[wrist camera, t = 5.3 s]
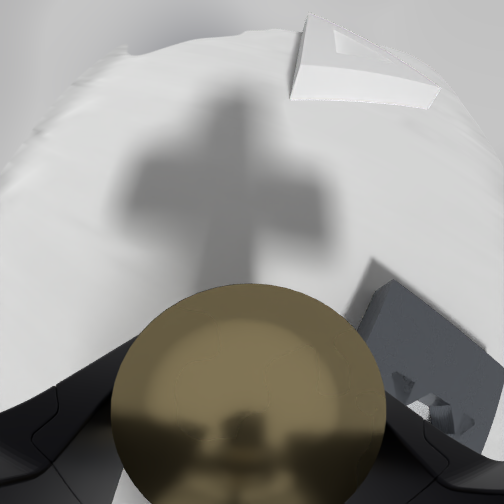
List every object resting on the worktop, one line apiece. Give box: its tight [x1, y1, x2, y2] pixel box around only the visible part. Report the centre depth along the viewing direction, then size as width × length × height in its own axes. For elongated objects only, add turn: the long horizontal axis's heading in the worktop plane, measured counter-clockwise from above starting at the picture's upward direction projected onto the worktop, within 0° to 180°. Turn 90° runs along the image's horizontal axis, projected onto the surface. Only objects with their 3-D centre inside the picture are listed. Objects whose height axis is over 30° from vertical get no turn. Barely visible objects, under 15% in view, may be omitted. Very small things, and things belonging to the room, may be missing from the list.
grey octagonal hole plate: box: [357, 279, 504, 454], centre depth 17 cm, size 20×18×3 cm
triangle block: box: [290, 12, 441, 109], centre depth 38 cm, size 30×26×6 cm
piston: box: [111, 284, 386, 504], centre depth 9 cm, size 5×5×10 cm
